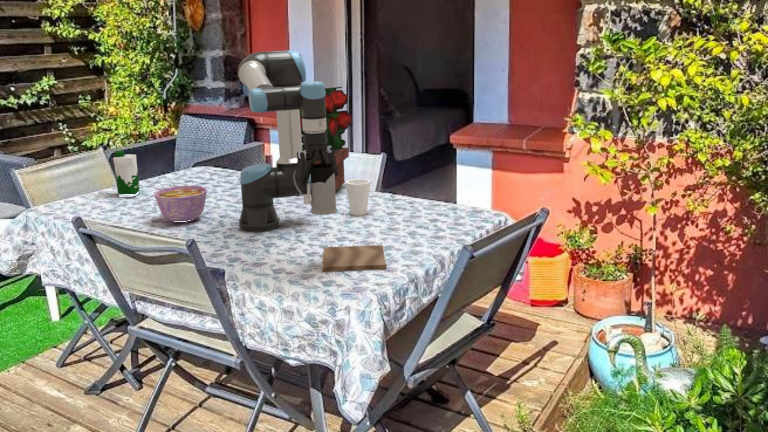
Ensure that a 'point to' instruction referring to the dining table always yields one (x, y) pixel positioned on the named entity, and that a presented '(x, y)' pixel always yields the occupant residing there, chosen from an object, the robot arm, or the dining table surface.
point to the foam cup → (358, 196)
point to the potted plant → (335, 129)
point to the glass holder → (322, 189)
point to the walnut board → (353, 258)
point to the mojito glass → (126, 173)
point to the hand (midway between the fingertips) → (318, 200)
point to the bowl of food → (181, 202)
